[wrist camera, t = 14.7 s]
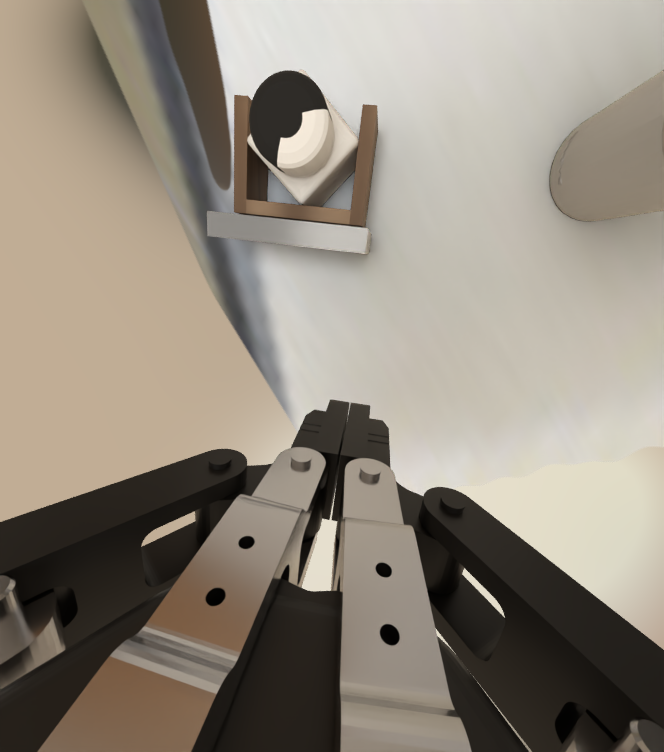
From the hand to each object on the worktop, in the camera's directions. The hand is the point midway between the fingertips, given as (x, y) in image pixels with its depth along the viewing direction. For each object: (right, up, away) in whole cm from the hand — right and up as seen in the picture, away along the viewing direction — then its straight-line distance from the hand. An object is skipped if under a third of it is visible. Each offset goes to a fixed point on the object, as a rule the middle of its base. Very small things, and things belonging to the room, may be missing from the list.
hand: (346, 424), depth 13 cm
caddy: (-3, +23, +23) cm, 33 cm away
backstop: (-3, +17, +25) cm, 31 cm away
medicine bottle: (-2, +25, +23) cm, 34 cm away
